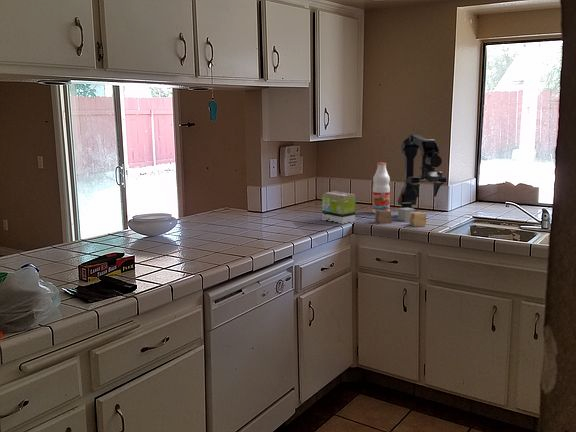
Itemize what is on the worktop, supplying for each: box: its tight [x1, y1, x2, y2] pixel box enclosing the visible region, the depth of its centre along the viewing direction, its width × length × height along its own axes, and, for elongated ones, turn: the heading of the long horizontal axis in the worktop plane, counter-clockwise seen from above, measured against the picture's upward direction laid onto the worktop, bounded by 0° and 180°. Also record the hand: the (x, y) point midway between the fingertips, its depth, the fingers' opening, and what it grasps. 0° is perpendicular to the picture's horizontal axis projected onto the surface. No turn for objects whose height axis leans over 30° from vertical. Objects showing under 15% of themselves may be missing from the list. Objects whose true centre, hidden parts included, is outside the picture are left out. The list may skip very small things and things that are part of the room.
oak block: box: [409, 211, 427, 227], centre depth 289 cm, size 6×6×6 cm
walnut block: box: [375, 210, 392, 224], centre depth 297 cm, size 6×6×6 cm
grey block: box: [397, 207, 416, 222], centre depth 303 cm, size 6×6×6 cm
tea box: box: [321, 190, 356, 225], centre depth 300 cm, size 15×10×15 cm, turn 42°
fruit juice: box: [371, 162, 391, 215], centre depth 322 cm, size 9×9×28 cm
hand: (426, 196), depth 286 cm, fingers open, 9 cm apart
